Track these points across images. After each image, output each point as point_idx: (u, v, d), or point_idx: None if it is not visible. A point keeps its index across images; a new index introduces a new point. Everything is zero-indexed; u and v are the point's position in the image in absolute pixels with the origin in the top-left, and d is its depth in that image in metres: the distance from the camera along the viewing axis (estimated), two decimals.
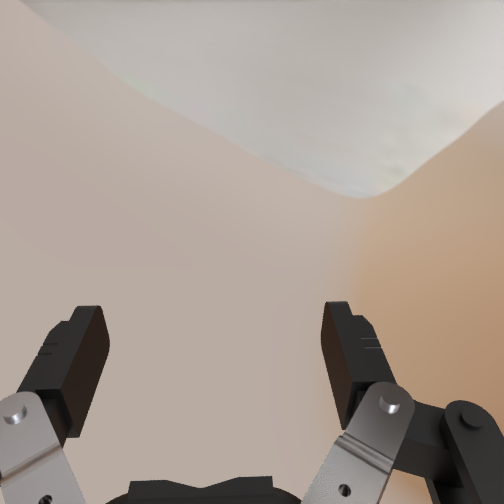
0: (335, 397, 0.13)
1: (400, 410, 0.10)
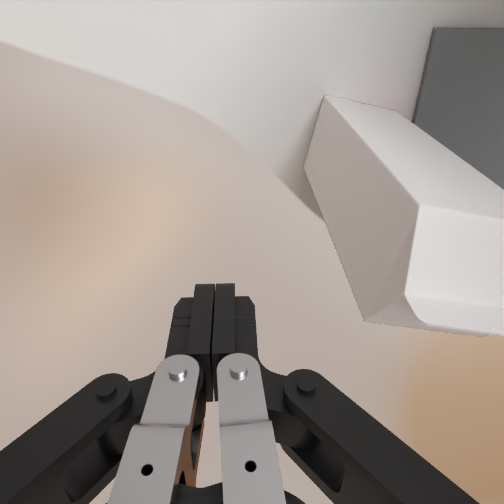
0: None
1: (244, 377, 0.11)
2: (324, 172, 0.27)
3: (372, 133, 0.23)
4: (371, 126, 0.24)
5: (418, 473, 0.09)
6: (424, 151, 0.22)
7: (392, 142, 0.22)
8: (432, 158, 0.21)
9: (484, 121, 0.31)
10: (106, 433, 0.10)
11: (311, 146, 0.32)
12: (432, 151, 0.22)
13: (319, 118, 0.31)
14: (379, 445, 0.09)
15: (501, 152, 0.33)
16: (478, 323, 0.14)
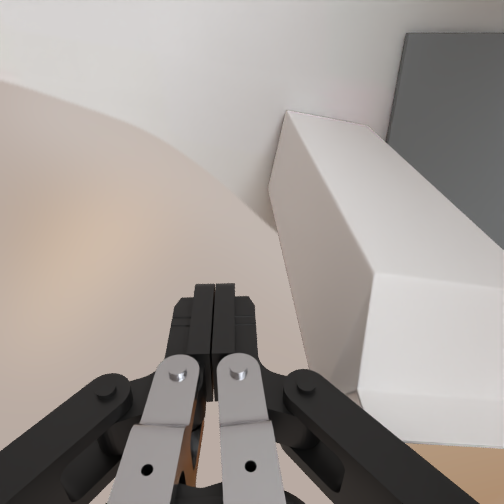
0: None
1: (245, 377, 0.11)
2: (284, 201, 0.24)
3: (332, 160, 0.19)
4: (333, 150, 0.21)
5: (417, 473, 0.09)
6: (392, 182, 0.18)
7: (355, 171, 0.18)
8: (401, 192, 0.17)
9: (467, 136, 0.28)
10: (106, 433, 0.10)
11: (274, 166, 0.28)
12: (402, 181, 0.19)
13: (281, 136, 0.27)
14: (379, 445, 0.09)
15: (487, 170, 0.29)
16: (452, 430, 0.11)
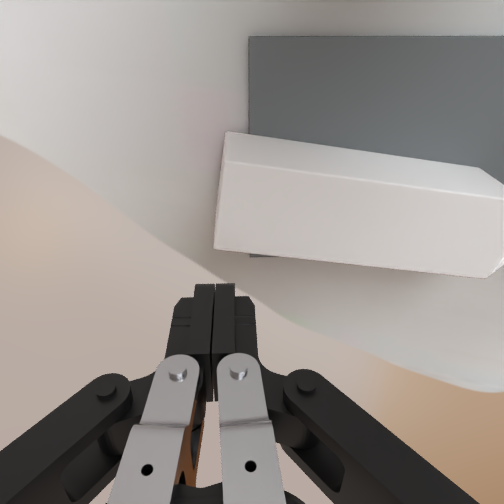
0: None
1: (245, 377, 0.11)
2: (318, 232, 0.25)
3: (377, 175, 0.24)
4: (348, 168, 0.24)
5: (418, 473, 0.09)
6: (390, 164, 0.26)
7: (390, 172, 0.25)
8: (406, 166, 0.26)
9: (328, 140, 0.28)
10: (106, 433, 0.10)
11: (229, 222, 0.24)
12: (382, 160, 0.27)
13: (233, 189, 0.23)
14: (379, 445, 0.09)
15: None
16: None
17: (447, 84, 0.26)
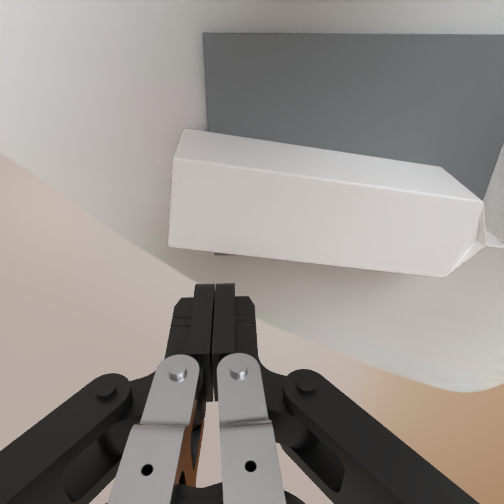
0: None
1: (245, 377, 0.11)
2: (272, 230, 0.25)
3: (330, 173, 0.24)
4: (302, 166, 0.24)
5: (418, 473, 0.09)
6: (348, 162, 0.26)
7: (345, 170, 0.25)
8: (363, 165, 0.26)
9: (288, 138, 0.28)
10: (106, 433, 0.10)
11: (182, 220, 0.24)
12: (340, 158, 0.27)
13: (183, 186, 0.23)
14: (379, 445, 0.09)
15: None
16: None
17: (405, 82, 0.26)
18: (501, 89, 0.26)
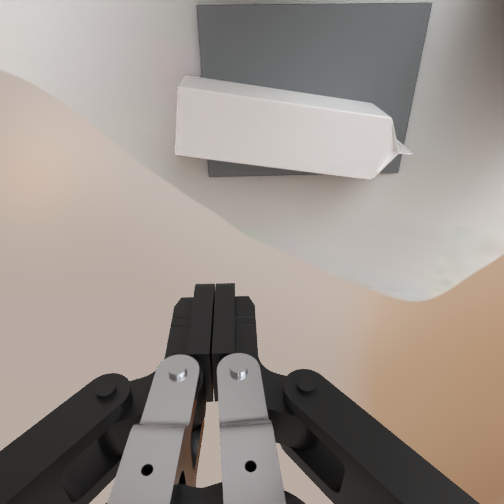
0: None
1: (245, 377, 0.11)
2: (246, 141, 0.36)
3: (285, 99, 0.35)
4: (266, 95, 0.35)
5: (418, 473, 0.09)
6: (300, 96, 0.37)
7: (296, 99, 0.36)
8: (312, 98, 0.37)
9: (259, 82, 0.39)
10: (106, 433, 0.10)
11: (184, 133, 0.35)
12: (296, 94, 0.38)
13: (184, 107, 0.34)
14: (379, 445, 0.09)
15: None
16: (401, 145, 0.39)
17: (340, 39, 0.37)
18: (409, 42, 0.37)
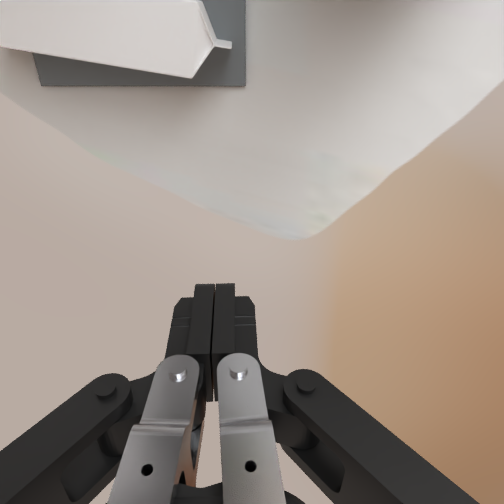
0: None
1: (245, 377, 0.11)
2: (43, 27, 0.33)
3: None
4: None
5: (418, 473, 0.09)
6: None
7: None
8: None
9: None
10: (106, 433, 0.10)
11: None
12: None
13: None
14: (380, 445, 0.09)
15: None
16: (227, 44, 0.36)
17: None
18: None
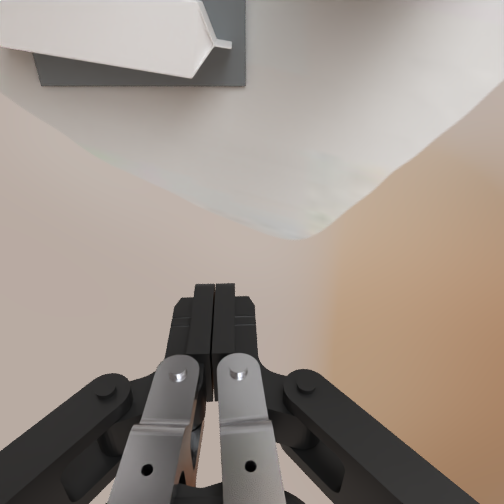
0: None
1: (245, 377, 0.11)
2: (43, 27, 0.33)
3: None
4: None
5: (418, 473, 0.09)
6: None
7: None
8: None
9: None
10: (106, 433, 0.10)
11: None
12: None
13: None
14: (379, 445, 0.09)
15: None
16: (227, 44, 0.36)
17: None
18: None
